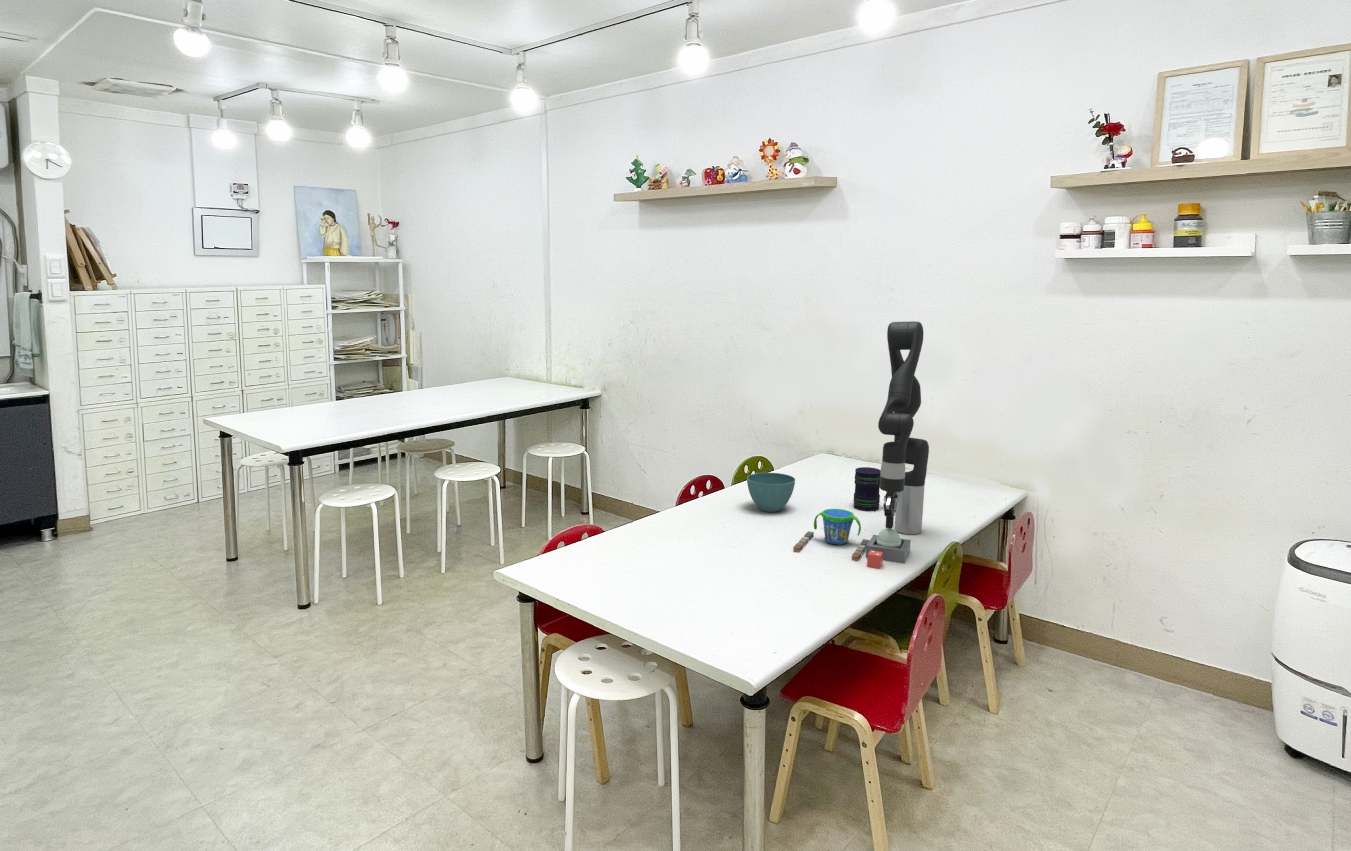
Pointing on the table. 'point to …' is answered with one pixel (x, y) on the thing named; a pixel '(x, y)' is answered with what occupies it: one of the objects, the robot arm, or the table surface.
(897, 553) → the frame
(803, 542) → the track markers
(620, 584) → the table surface
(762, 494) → the teal bowl
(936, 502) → the table surface
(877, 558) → the red die
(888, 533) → the dome
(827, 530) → the snack cup
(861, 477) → the storage jar
